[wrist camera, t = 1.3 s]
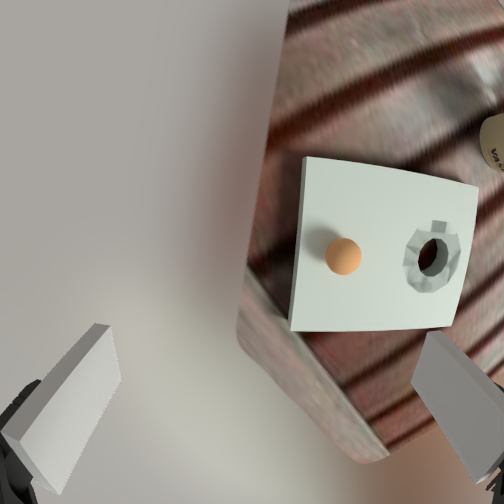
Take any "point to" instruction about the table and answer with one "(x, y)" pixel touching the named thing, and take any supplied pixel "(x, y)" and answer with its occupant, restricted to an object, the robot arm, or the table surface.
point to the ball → (343, 256)
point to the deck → (379, 247)
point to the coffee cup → (493, 141)
